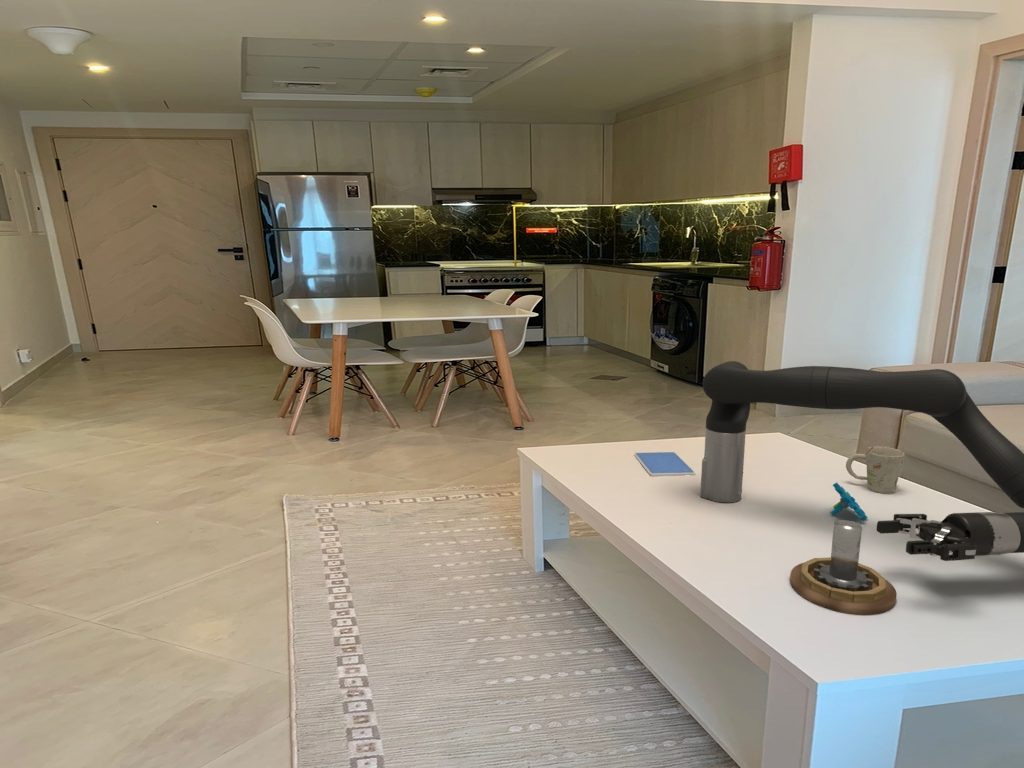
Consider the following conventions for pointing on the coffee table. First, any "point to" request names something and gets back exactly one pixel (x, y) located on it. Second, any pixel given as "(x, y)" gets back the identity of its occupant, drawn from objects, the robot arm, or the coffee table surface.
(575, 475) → the coffee table surface
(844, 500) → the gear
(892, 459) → the mug
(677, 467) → the blue flat plate
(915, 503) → the coffee table surface
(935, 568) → the coffee table surface
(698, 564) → the coffee table surface
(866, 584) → the gear
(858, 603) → the carrier disc
